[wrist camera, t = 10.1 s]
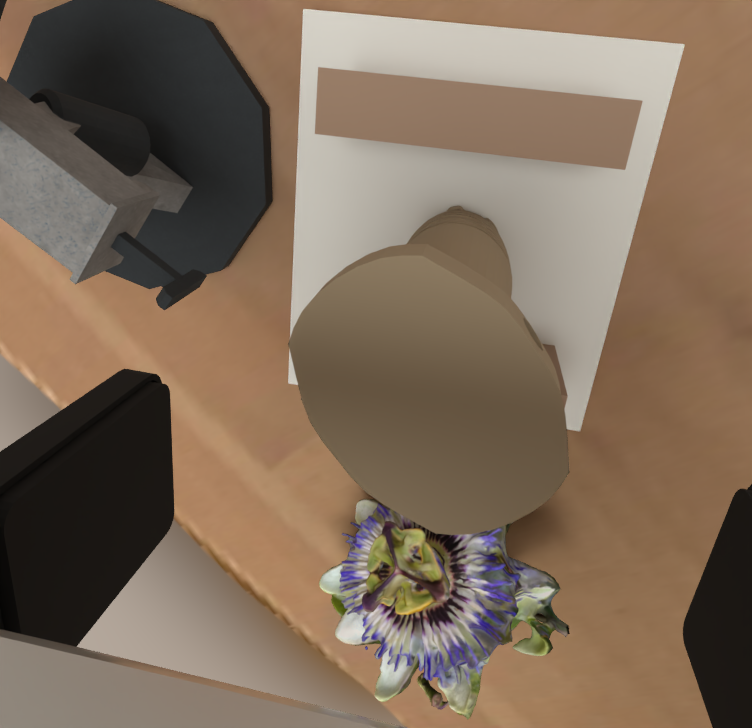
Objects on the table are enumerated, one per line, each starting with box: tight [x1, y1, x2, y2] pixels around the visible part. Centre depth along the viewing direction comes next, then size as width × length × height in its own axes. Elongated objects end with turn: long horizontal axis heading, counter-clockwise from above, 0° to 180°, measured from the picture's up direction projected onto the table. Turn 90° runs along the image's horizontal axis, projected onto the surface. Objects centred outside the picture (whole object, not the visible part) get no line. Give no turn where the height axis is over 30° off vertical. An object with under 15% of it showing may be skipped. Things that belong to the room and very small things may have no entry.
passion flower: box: [319, 499, 569, 719], centre depth 30 cm, size 11×11×12 cm
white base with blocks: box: [288, 9, 685, 431], centre depth 24 cm, size 16×14×6 cm
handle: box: [288, 206, 569, 535], centre depth 19 cm, size 5×6×15 cm
